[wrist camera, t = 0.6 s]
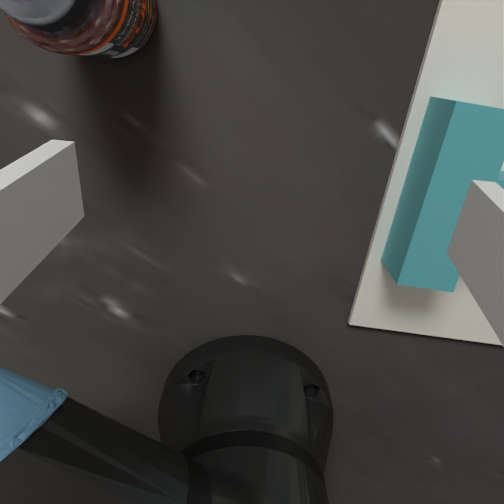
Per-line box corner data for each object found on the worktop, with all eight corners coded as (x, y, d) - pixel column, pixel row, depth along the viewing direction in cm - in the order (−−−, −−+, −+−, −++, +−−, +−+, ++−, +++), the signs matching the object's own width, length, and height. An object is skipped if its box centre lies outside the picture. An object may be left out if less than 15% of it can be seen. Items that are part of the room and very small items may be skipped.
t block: (529, 281, 34) (562, 308, 31) (380, 260, 34) (396, 284, 30) (600, 125, 30) (650, 134, 26) (430, 96, 29) (456, 101, 25)
